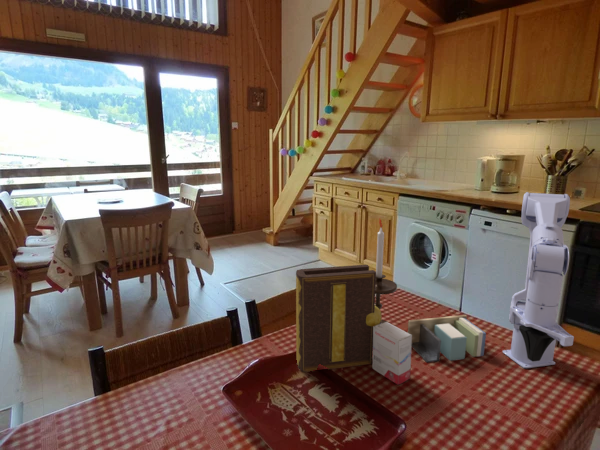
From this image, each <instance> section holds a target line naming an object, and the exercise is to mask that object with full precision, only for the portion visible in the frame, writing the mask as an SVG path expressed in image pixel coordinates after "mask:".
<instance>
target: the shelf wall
mask: <svg viewBox="0 0 600 450" xmlns="http://www.w3.org/2000/svg"><path fill="white" fill-rule="evenodd" d="M459 318H466V319H467V318H468V315H466V314H461V315H449V316H440V317H430V318H420V319H409V320H408V322H407V333H409V334H411V335H412V343H414V342H419V336H420V324H424V325H425V326H426V327H427V328H428V329H429V330H430V331H431V332H432V333H434V329H435V325H438V324H448V323H449V324H450V325H452V326H453V327H454V321H455V320H459ZM467 320H468V319H467Z"/></svg>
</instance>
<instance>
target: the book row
mask: <svg viewBox="0 0 600 450" xmlns="http://www.w3.org/2000/svg"><path fill="white" fill-rule="evenodd" d="M454 328H455V329H457V330H458V331H459V332H460V333H462V334H463V335H464V336H465V337H467V340H466V350H465V352H467V353H468V354H469V355H471V357H484V355H485V348H486V339H487V337H486V336H487V332H485V331H484V330H482V329H481V328H479V327H478V326H477V325H475V324H474V323H472V322H471V321H470V320H469V319H466V318H459V320H455V321H454Z"/></svg>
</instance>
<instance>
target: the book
mask: <svg viewBox="0 0 600 450" xmlns="http://www.w3.org/2000/svg"><path fill="white" fill-rule="evenodd" d="M375 286H376V270H375V269H371V270H370V265H368V264H356V265H354V264H353V265H341V266H328V267H327V266H325V267H313V268H311V267H310V268H302V269H301V268H299V269H297V270H296V271H295V292H296V293H295V296H296V297H295V302H296V303H295V305H296V306H295V310H296V311H295V312H296V313H295V318H296V319H295V321H296V323H295V324H296V325H295V331H296V333H295V334H296V335H295V337H296V339H295V343H296V345H295V346H296V347H295V348H296V349H295V350H296V359H295V360H297V363H296V366H297V365H298V366H297V369H298V368H299V369H300V370H301V371H300V370H299V369H298V370H299V371H300V372H302V373H311V372H310V371H312V372H314V371H313V370H317V368H318V365H319V364H321V365H323V366H325V367H327V368H329V369H328V370H333V369H335V370H336V369H340V368H341V369H343V368H349V367H350V368H351V367H358V366H366V365H367V366H368V365H373V326H376V325H378V324H380V322H381V320H382V317H383V316H382V311H381V309H379V308H378V307H376V306H375V303H376V294H375Z"/></svg>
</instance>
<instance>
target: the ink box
mask: <svg viewBox="0 0 600 450" xmlns="http://www.w3.org/2000/svg"><path fill="white" fill-rule="evenodd" d="M411 343H412V335H411V334H409V333H408V331H405V330H403V329H401V328H399V327H398V326H396V325H394V324H392V323H390V322H389V323H388V321H387V322H384V323H381V324H379V325H376V326H373V355H372V369H373V370H374V371H376V372H377V373H379V374H380V375H381V376H383V377H385V378H387V379H388V380H389V381H391V382H393V383H394V384H395V385H397V386H399V385H401V384H403V383H404V382H406V381H408V380H410V379H411V371H412V370H411V369H412V368H411V366H412V346H411Z"/></svg>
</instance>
